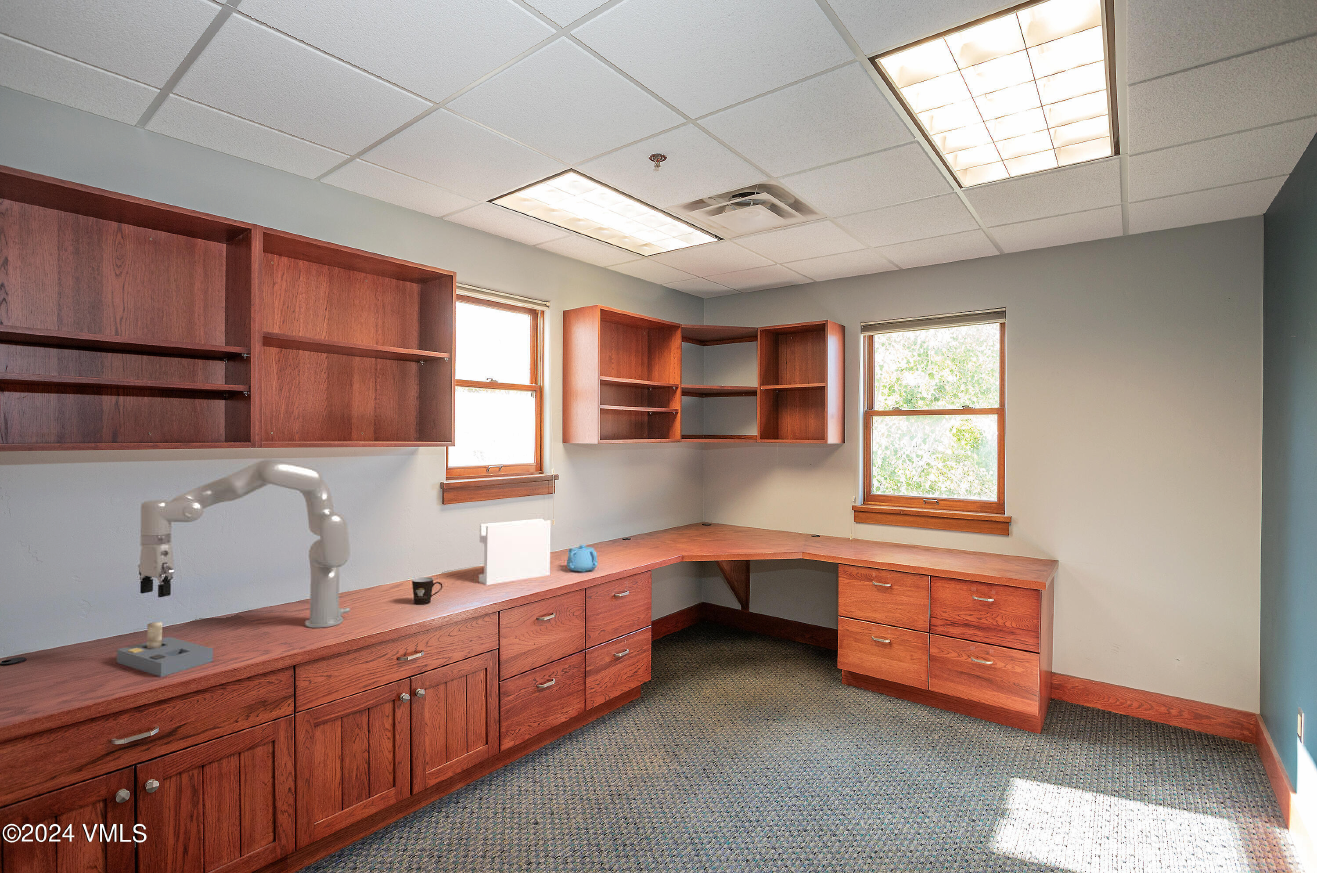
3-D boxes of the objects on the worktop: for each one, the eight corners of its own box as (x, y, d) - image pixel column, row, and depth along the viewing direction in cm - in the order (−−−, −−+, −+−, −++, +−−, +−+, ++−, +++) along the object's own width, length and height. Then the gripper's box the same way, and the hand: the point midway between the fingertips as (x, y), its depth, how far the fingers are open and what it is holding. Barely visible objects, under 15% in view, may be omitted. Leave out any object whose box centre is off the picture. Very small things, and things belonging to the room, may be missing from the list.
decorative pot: (597, 573, 326) (598, 547, 326) (566, 573, 324) (566, 547, 324) (597, 567, 342) (597, 542, 342) (567, 567, 340) (568, 542, 340)
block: (486, 585, 298) (487, 526, 297) (478, 581, 304) (479, 524, 303) (549, 574, 321) (550, 520, 321) (541, 572, 327) (542, 518, 327)
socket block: (168, 648, 205) (168, 635, 205) (212, 661, 195) (212, 647, 195) (116, 662, 192) (116, 648, 192) (161, 676, 182) (161, 662, 182)
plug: (157, 652, 198) (158, 621, 198) (164, 654, 197) (164, 623, 197) (144, 656, 195) (144, 624, 195) (150, 658, 194) (151, 626, 194)
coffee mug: (406, 604, 262) (407, 580, 262) (420, 599, 270) (421, 576, 270) (429, 607, 258) (430, 583, 258) (443, 602, 266) (443, 578, 266)
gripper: (185, 540, 196) (184, 595, 196) (154, 535, 203) (153, 588, 203) (157, 544, 189) (157, 600, 189) (126, 539, 196) (126, 593, 196)
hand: (155, 594), depth 196 cm, fingers open, 9 cm apart
